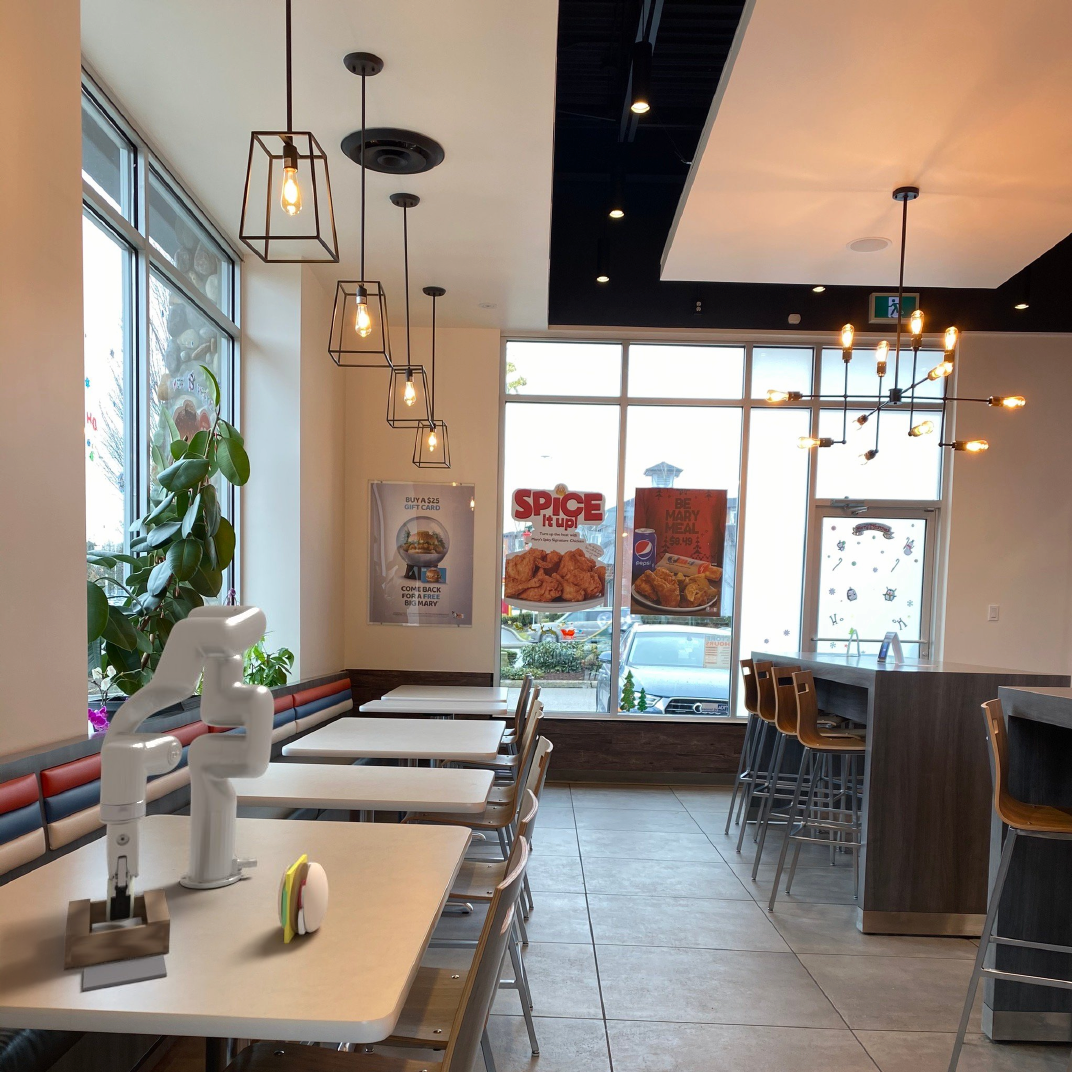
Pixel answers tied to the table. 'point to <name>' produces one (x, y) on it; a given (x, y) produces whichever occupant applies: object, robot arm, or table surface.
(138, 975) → the rubber mat
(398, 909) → the table surface
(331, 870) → the table surface
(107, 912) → the sage cylinder
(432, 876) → the table surface
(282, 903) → the hamburger
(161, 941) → the walnut box
